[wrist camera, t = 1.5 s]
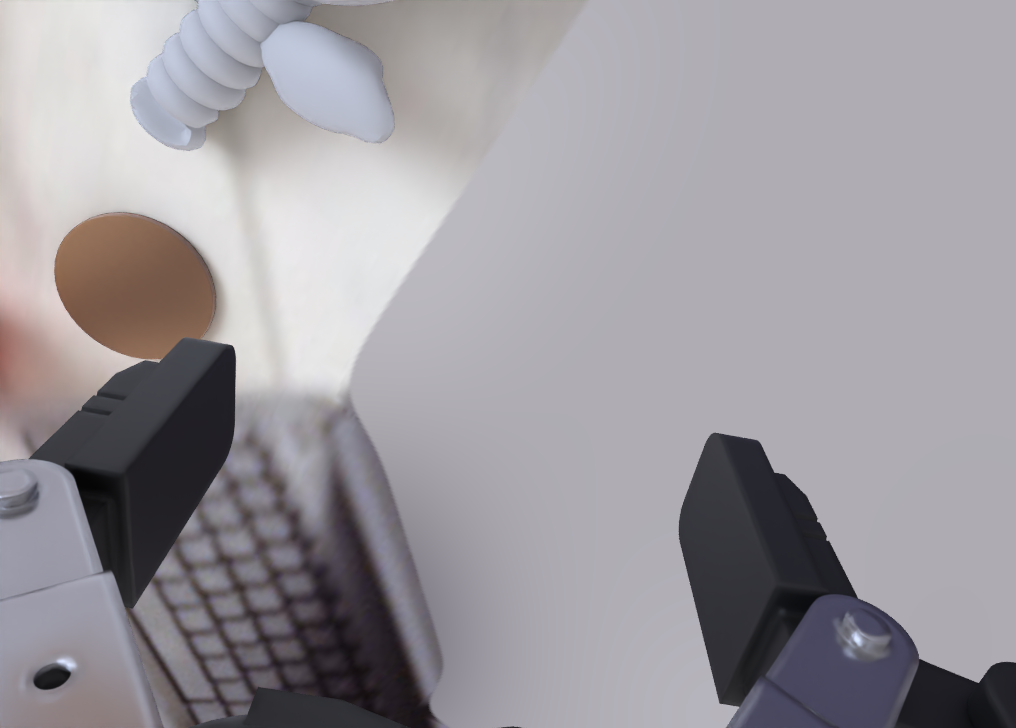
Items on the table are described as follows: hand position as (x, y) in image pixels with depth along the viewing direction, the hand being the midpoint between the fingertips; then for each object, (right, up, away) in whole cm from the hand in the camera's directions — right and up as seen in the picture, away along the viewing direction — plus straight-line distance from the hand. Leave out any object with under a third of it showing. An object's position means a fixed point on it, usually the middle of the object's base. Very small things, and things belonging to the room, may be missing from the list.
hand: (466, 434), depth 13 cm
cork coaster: (-16, +5, +22) cm, 27 cm away
